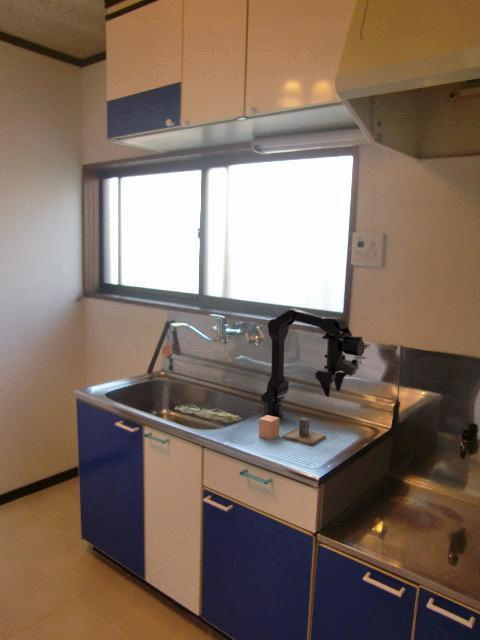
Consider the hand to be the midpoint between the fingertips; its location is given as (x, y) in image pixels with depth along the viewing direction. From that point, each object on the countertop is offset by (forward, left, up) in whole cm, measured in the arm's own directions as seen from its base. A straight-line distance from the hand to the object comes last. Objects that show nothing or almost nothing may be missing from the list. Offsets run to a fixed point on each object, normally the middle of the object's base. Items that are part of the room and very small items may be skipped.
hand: (333, 393), depth 184 cm
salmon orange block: (-16, -19, -14) cm, 28 cm away
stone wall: (-49, -13, -15) cm, 53 cm away
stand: (-5, -13, -14) cm, 19 cm away
